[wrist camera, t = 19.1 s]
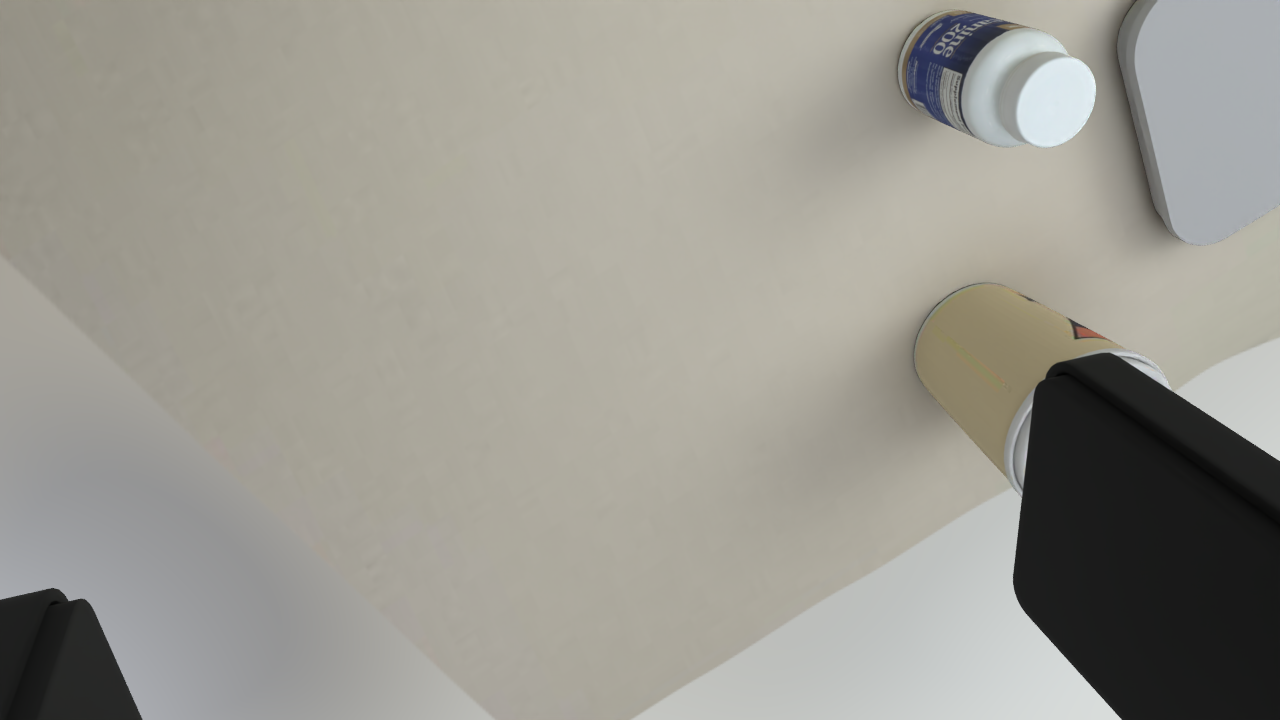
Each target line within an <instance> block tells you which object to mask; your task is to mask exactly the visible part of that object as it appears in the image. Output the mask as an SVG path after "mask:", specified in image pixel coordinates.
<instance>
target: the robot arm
mask: <svg viewBox="0 0 1280 720" xmlns="http://www.w3.org/2000/svg"><path fill="white" fill-rule="evenodd" d="M1013 585H1014V590H1015V594H1016V597H1017V600H1018V602H1019V604H1020V605H1021V607H1022V609H1023V610H1024V611H1025V613H1026V614H1027V615H1028V616H1029V617H1030V618H1031V620H1032V621H1033V622H1034V623H1035V624H1036V625H1037V626H1038V627H1039V629H1040V630H1041V631H1042V632H1043V633H1044V634H1045V635H1046V636H1047V637H1048V638H1049V640H1050V641H1051V642H1052V643H1053V644H1054V645H1055V646H1056V647H1057V648H1058V650H1059V651H1060V652H1061V653H1062V654H1063V655H1064V656H1065V657H1066V658H1067V659H1068V661H1069V662H1070V663H1071V664H1072V665H1073V666H1074V667H1075V668H1076V669H1077V671H1078V672H1079V673H1080V674H1081V675H1082V676H1083V677H1084V678H1085V679H1086V681H1087V682H1088V683H1089V684H1090V685H1091V686H1092V687H1093V688H1094V689H1095V690H1096V692H1097V693H1098V694H1099V695H1100V696H1101V697H1102V698H1103V699H1104V700H1105V702H1106V703H1107V704H1108V705H1109V706H1110V707H1111V708H1112V709H1113V710H1114V711H1115V713H1116V714H1117V715H1118V716H1119V717H1120V718H1121V719H1122V720H1280V461H1279V460H1277V459H1275V458H1274V457H1272V456H1271V455H1269V454H1268V453H1266V452H1265V451H1263V450H1261V449H1260V448H1258V447H1257V446H1256V445H1254V444H1252V443H1251V442H1249V441H1248V440H1246V439H1244V438H1243V437H1242V436H1240V435H1239V434H1237V433H1236V432H1234V431H1232V430H1231V429H1229V428H1228V427H1226V426H1225V425H1223V424H1221V423H1220V422H1219V421H1217V420H1216V419H1214V418H1212V417H1211V416H1209V415H1208V414H1206V413H1205V412H1203V411H1202V410H1200V409H1199V408H1197V407H1196V406H1194V405H1192V404H1191V403H1189V402H1188V401H1186V400H1185V399H1183V398H1182V397H1180V396H1179V395H1177V394H1175V393H1174V392H1172V391H1171V390H1169V389H1168V388H1166V387H1165V386H1163V385H1162V384H1160V383H1159V382H1157V381H1156V380H1154V379H1152V378H1151V377H1149V376H1148V375H1146V374H1145V373H1143V372H1142V371H1140V370H1139V369H1137V368H1136V367H1134V366H1132V365H1131V364H1129V363H1128V362H1126V361H1125V360H1123V359H1122V358H1120V357H1119V356H1117V355H1114V354H1112V353H1110V352H1108V353H1098V354H1093V355H1089V356H1084V357H1080V358H1075V359H1071V360H1066V361H1062V362H1058V363H1056V364H1054V365H1052V366H1051V367H1050V369H1049V370H1048V372H1047V373H1046V377H1045V379H1044V380H1042V381H1040V382H1039V383H1038V385H1037V386H1036V388H1035V392H1034V396H1033V405H1032V414H1031V423H1030V432H1029V441H1028V449H1027V458H1026V467H1025V476H1024V485H1023V494H1022V503H1021V511H1020V521H1019V529H1018V538H1017V547H1016V557H1015V564H1014V574H1013ZM0 720H142V718H141V715H140V713H139V711H138V709H137V706H136V704H135V702H134V700H133V698H132V695H131V693H130V691H129V688H128V686H127V684H126V682H125V680H124V677H123V675H122V673H121V671H120V668H119V666H118V664H117V662H116V659H115V657H114V655H113V653H112V650H111V648H110V646H109V644H108V641H107V639H106V637H105V635H104V632H103V630H102V628H101V626H100V623H99V621H98V619H97V617H96V614H95V612H94V610H93V608H92V607H91V605H90V604H89V603H88V602H87V601H86V600H85V599H78V600H73V601H68V599H67V598H66V596H65V595H64V594H63V593H62V592H61V591H60V590H58V589H54V588H51V589H46V590H42V591H38V592H33V593H28V594H24V595H19V596H15V597H11V598H6V599H2V600H0Z"/></svg>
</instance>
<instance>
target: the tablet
mask: <svg viewBox="0 0 1280 720" xmlns="http://www.w3.org/2000/svg"><path fill="white" fill-rule="evenodd" d="M1117 54H1118V60H1119V64H1120V68H1121V72H1122V76H1123V80H1124V84H1125V89H1126V93H1127V97H1128V101H1129V105H1130V109H1131V113H1132V117H1133V122H1134V126H1135V130H1136V134H1137V138H1138V142H1139V146H1140V150H1141V154H1142V159H1143V163H1144V167H1145V171H1146V175H1147V179H1148V183H1149V187H1150V192H1151V196H1152V200H1153V204H1154V207H1155V209H1156V211H1157V213H1158V214H1159V215H1160V216H1161V217H1162V218H1163V220H1164V223H1165V225H1166V227H1167V229H1168V230H1169V232H1170V233H1171V234H1172V235H1173V236H1175V237H1176V238H1178V239H1180V240H1182V241H1184V242H1187V243H1189V244H1192V245H1209V244H1214V243H1216V242H1219V241H1221V240H1223V239H1225V238H1227V237H1229V236H1230V235H1232V234H1234V233H1235V232H1237V231H1238V230H1240V229H1242V228H1243V227H1245V226H1247V225H1248V224H1250V223H1252V222H1253V221H1255V220H1256V219H1258V218H1260V217H1261V216H1263V215H1265V214H1266V213H1268V212H1269V211H1271V210H1273V209H1274V208H1276V207H1278V206H1279V205H1280V0H1137V1H1136V2H1135V3H1134V5H1133V6H1132V7H1131V8H1130V10H1129V11H1128V13H1127V15H1126V16H1125V18H1124V20H1123V23H1122V25H1121V28H1120V31H1119V35H1118V41H1117Z"/></svg>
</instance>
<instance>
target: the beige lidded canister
mask: <svg viewBox="0 0 1280 720" xmlns="http://www.w3.org/2000/svg"><path fill="white" fill-rule="evenodd" d="M1108 352H1110V353H1112V354H1114V355H1117V356H1119V357H1120V358H1122V359H1123V360H1125V361H1126V362H1128V363H1129V364H1131V365H1132V366H1134V367H1136V368H1137V369H1139V370H1140V371H1142V372H1143V373H1145V374H1146V375H1148V376H1149V377H1151V378H1152V379H1154V380H1156V381H1157V382H1159V383H1160V384H1162V385H1163V386H1165V387H1166V388H1168V389H1169V390H1171V387H1170V385H1169V384H1168V381H1167V379H1166V377H1165V375H1164V373H1163V372H1162V370H1161V369H1160V368H1159V367H1158V366H1157V365H1156V364H1155V363H1154V362H1153V361H1151V360H1150V359H1149V358H1147V357H1145V356H1143V355H1141V354H1139V353H1137V352H1134V351H1131V350H1127V349H1125V348H1123V347H1121V346H1119V345H1118V344H1116V343H1114V342H1112V341H1110V340H1109V339H1107V338H1105V337H1103V336H1101V335H1099V334H1097V333H1095V332H1093V331H1092V330H1090V329H1088V328H1086V327H1084V326H1082V325H1080V324H1078V323H1076V322H1075V321H1073V320H1071V319H1069V318H1067V317H1065V316H1063V315H1061V314H1059V313H1057V312H1055V311H1053V310H1051V309H1049V308H1048V307H1046V306H1044V305H1042V304H1040V303H1038V302H1036V301H1034V300H1032V299H1030V298H1028V297H1026V296H1024V295H1022V294H1020V293H1018V292H1016V291H1014V290H1012V289H1010V288H1008V287H1005V286H1002V285H999V284H993V283H982V284H975V285H971V286H968V287H965V288H963V289H960V290H958V291H957V292H955V293H953V294H951V295H950V296H948V297H947V298H946V299H944V300H943V301H942V302H941V303H940V304H938V305H937V306H936V307H935V308H934V310H933V311H932V312H931V313H930V315H929V316H928V317H927V319H926V320H925V322H924V324H923V325H922V327H921V329H920V331H919V334H918V336H917V340H916V344H915V350H914V363H915V368H916V371H917V374H918V376H919V378H920V380H921V382H922V383H923V385H924V386H925V387H926V388H927V390H928V391H929V392H930V393H931V394H932V396H933V397H934V398H935V399H936V400H937V401H938V402H939V404H940V405H941V406H942V407H943V408H944V409H945V410H946V411H947V413H948V414H949V415H950V416H951V417H952V418H953V419H954V420H955V422H956V423H957V424H958V425H959V426H960V427H961V428H962V429H963V431H964V432H965V433H966V434H967V435H968V436H969V437H970V438H971V439H972V441H973V442H974V443H975V444H976V445H977V446H978V447H979V448H980V449H981V450H982V452H983V453H984V454H985V455H986V456H987V457H988V458H989V459H990V460H991V461H992V463H993V464H994V465H995V466H996V467H997V468H998V469H999V470H1000V471H1001V472H1002V473H1003V474H1004V475H1005V476H1006V478H1007V479H1008V480H1009V482H1010V483H1011V485H1012V487H1013V488H1014V489H1015V491H1016V492H1017V493H1018V494H1019V495H1020V496H1021V497H1022V494H1023V485H1024V476H1025V467H1026V458H1027V449H1028V441H1029V432H1030V423H1031V414H1032V405H1033V396H1034V392H1035V388H1036V386H1037V385H1038V383H1039V382H1040V381H1042V380H1044V379H1045V377H1046V373H1047V372H1048V370H1049V369H1050V367H1051V366H1052V365H1054V364H1056V363H1058V362H1062V361H1066V360H1071V359H1075V358H1080V357H1084V356H1089V355H1093V354H1098V353H1108ZM1171 391H1172V390H1171Z"/></svg>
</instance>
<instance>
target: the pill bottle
mask: <svg viewBox="0 0 1280 720" xmlns="http://www.w3.org/2000/svg"><path fill="white" fill-rule="evenodd" d="M898 80H899V85H900V88H901V91H902V93H903V95H904V97H905V99H906V100H907V101H908V103H909V104H910V105H911V106H912V107H913V108H915V109H916V110H918V111H920V112H921V113H923V114H925V115H927V116H929V117H931V118H933V119H936V120H938V121H940V122H942V123H944V124H946V125H948V126H951V127H953V128H955V129H957V130H959V131H962V132H964V133H966V134H968V135H970V136H973V137H975V138H977V139H979V140H981V141H983V142H985V143H988V144H991V145H994V146H998V147H1016V146H1020V145H1023V144H1026V143H1027V144H1030V145H1033V146H1036V147H1042V148H1050V147H1055V146H1058V145H1061V144H1063V143H1065V142H1066V141H1068V140H1069V139H1071V138H1072V137H1074V136H1075V135H1076V134H1077V133H1078V132H1079V131H1080V129H1081V128H1082V127H1083V126H1084V124H1085V123H1086V121H1087V120H1088V118H1089V116H1090V114H1091V112H1092V109H1093V106H1094V102H1095V96H1096V85H1095V79H1094V77H1093V74H1092V72H1091V70H1090V69H1089V68H1088V66H1087V65H1086V64H1085V63H1083V62H1082V61H1080V60H1079V59H1077V58H1074V57H1071V56H1068V53H1067V52H1066V50H1065V48H1064V47H1063V45H1062V44H1061V43H1060V42H1059V41H1058V40H1057V39H1056V38H1054V37H1053V36H1051V35H1050V34H1048V33H1045V32H1043V31H1040V30H1038V29H1034V28H1030V27H1026V26H1022V25H1019V24H1014V23H1011V22H1007V21H1003V20H999V19H995V18H991V17H987V16H984V15H980V14H976V13H971V12H967V11H961V10H948V11H943V12H939V13H937V14H934V15H932V16H931V17H929V18H927V19H926V20H925V21H923V22H922V23H921V24H920V25H918V26H917V27H916V28H915V29H914V31H913V32H912V33H911V35H910V36H909V38H908V39H907V41H906V43H905V45H904V47H903V50H902V52H901V56H900V59H899V65H898Z"/></svg>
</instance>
